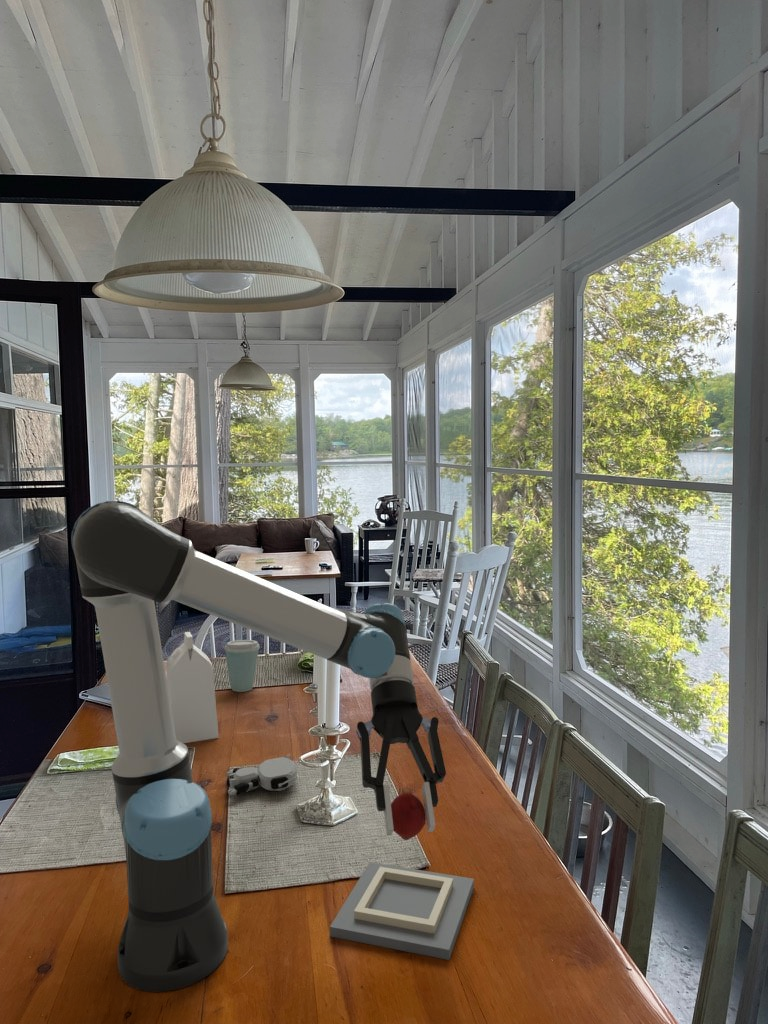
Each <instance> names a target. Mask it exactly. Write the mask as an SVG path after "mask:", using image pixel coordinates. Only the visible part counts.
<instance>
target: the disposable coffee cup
mask: <svg viewBox="0 0 768 1024" xmlns="http://www.w3.org/2000/svg"><path fill="white" fill-rule="evenodd" d="M260 648H261V647H260V644H259V643H258V641H257V640H253V639H237V640H231V641H228V642H227V643H226V644H225V646H224V649H223V650H224V652H225V659H226V665H227V671H228V678H229V683H230V688H231V690H232V691H233V692H237V693H245V692H249V691H251V690H253V687H254V684H255V676H256V669H257V663H258V655H259V650H260Z"/></svg>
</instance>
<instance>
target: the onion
mask: <svg viewBox="0 0 768 1024" xmlns="http://www.w3.org/2000/svg"><path fill="white" fill-rule="evenodd" d="M391 810H392V819H393V828H394V829H393V832H395V833H396V834H397V835H398V836H399V837H400V838H401V839H402V840H405V841H408V840H410V839H412V838H414V837H416V836H417V835H419V833H421V831H422V830H423V828H424V827H425V825H426V815H425V808H424V803H422V801H421V800H420V799H419V798H418V797H417V796H415V795H414V794H413V793H412V792H410V791H409V789H408V788H402V790H401V793H400V794H399V795H398V796H396V797H395V798H394V799H393V800H392V802H391Z"/></svg>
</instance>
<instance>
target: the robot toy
mask: <svg viewBox="0 0 768 1024" xmlns="http://www.w3.org/2000/svg"><path fill="white" fill-rule="evenodd" d="M289 757H291V754H287V755H286V756H281V757H280V756H279V757H275V758H270V759H265V760H264V761H263V762H261V763H260V765H258V768H256V767H255V766H253V767H252V766H251V767H250V766H249V767H244V768H243V767H235V768H233V769H228V771H227V772H226V776H227V777H228V778H227V779H226V786H227V787H228V788H229V789H228V791H227V793H228V794H229V795H230V796H234V795H237V796H239V795H242V794H244V793H248V791H249V792H250V791H253V790H256V789H257V788H258V787H259V786H260V787H261V788H263V789H265V790H266V791H267V790H268V791H270V792H272V791H276V792H282V790H283V791H285V790H286V789H288V788H290V787H291V786H292V785H293V784H295V782H296V780H297V778H298V773H297V772H298V771H297V765H296V763H295V762H294V761H293V760H291V759H290V758H289ZM246 791H247V792H246Z"/></svg>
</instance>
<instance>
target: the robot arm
mask: <svg viewBox="0 0 768 1024" xmlns="http://www.w3.org/2000/svg"><path fill="white" fill-rule="evenodd" d="M70 537H71V540H70V541H71V547H72V550H73V554H74V558H75V562H76V568H77V575H78V580H79V584H80V585H79V586H80V591H81V597H82V598H83V599H84V600H86V601H87V602H89V603H91V604H92V605H93V606H94V611H95V613H96V614H95V615H96V620H97V629H98V633H99V639H100V644H101V650H102V651H101V652H102V656H103V662H104V669H105V675H106V681H107V686H108V692H109V699H110V705H111V711H112V716H113V717H112V718H113V723H114V729H115V734H116V740H117V746H118V755H117V757H116V758H115V759H114V760H113V762H112V764H111V774H112V778H113V786H114V790H115V805H116V809H117V813H118V816H119V820H120V828H121V832H122V840H123V846H124V850H125V851H124V852H125V861H126V863H125V864H126V877H127V878H126V879H127V896H128V897H127V899H128V900H127V901H128V912H127V915H126V918H125V922H124V926H123V928H122V929H123V930H122V934H121V936H120V940H119V943H118V947H117V970H118V973H119V975H120V978H121V979H122V981H123V982H125V984H127V985H129V986H130V987H132V988H135V989H137V990H140V991H144V992H169V991H174V990H177V989H178V990H179V989H182V988H185V987H188V986H191V985H192V984H195V983H197V982H200V981H201V980H203V979H204V978H206V977H208V976H209V975H210V974H211V973H213V972H214V971H215V970H217V968H218V967H219V966H220V965H221V964H222V962H223V960H224V959H225V957H226V955H227V952H228V948H229V942H228V941H229V939H228V938H229V936H228V927H227V923H226V922H225V919H224V918H223V916H222V913H221V910H220V908H219V904H218V902H217V900H216V897H215V894H214V874H213V873H214V872H213V849H212V847H213V846H212V845H213V844H212V842H213V841H212V824H213V823H212V821H213V813H212V808H211V804H210V798H209V796H208V795H209V794H207V792H206V790H205V789H204V788H203V787H201V785H199V784H198V783H196V782H194V780H193V774H192V773H193V772H192V767H191V766H192V765H191V762H190V761H191V760H190V755H189V749H188V746H187V745H186V743H182V742H180V741H178V740H176V735H175V729H174V723H173V717H172V710H171V704H170V698H169V691H168V685H167V671H166V667H165V660H164V654H163V648H162V643H161V636H160V630H159V623H158V616H157V611H156V604H155V602H156V603H159V604H161V605H162V604H165V603H168V602H171V601H174V602H178V603H180V604H182V605H185V606H188V607H190V608H193V609H196V610H198V611H200V612H202V613H206V614H207V615H210V616H213V617H216V618H218V619H221V620H224V621H226V622H229V623H231V624H233V625H234V624H235V625H237V626H240V627H242V628H245V629H247V630H250V631H252V632H255V633H257V634H260V635H263V636H265V637H268V638H271V639H273V640H275V641H277V642H278V641H279V642H281V643H283V644H286V645H289V646H291V647H294V648H296V649H299V650H302V651H305V652H307V653H309V654H312V655H314V656H317V657H320V658H322V659H325V660H327V661H329V662H332V663H333V664H334V663H335V664H337V665H339V666H341V667H345V668H347V669H349V670H351V671H352V673H354V674H355V675H358V676H361V677H364V678H366V679H369V686H370V687H369V688H370V691H371V692H370V698H371V707H372V709H371V710H372V717H371V720H368V721H365V722H363V721H359V722H357V725H356V730H355V731H356V735H357V737H358V739H359V742H360V743H359V744H360V761H361V762H360V763H361V781H362V784H361V785H362V787H363V788H365V789H368V788H369V789H372V790H374V795H375V803H376V810H377V812H383V813H384V823H385V831H386V832H385V833H386V836H392V835H393V832H394V831H393V829H394V828H393V819H392V810H391V803H392V802H391V793H390V787H389V784H385V785H384V781H385V776H386V770H387V769H386V768H387V764H388V759H389V753H390V747H391V745H395V744H398V743H400V744H406V745H407V748H408V749H409V751H410V752H411V755H412V758H413V759H414V762H415V763H416V766H417V768H418V770H419V772H420V775H421V777H422V779H423V785H422V787H421V792H422V799H423V806H424V809H425V816H426V820H425V823H426V827H427V828H426V829H427V832H428V833H430V832H431V833H432V832H434V829H435V827H436V820H435V813H434V812H435V811H434V808H436V807H437V806H438V802H439V795H438V791H437V784H439V783H443V782H444V779H445V777H446V775H447V772H446V771H447V770H446V766H445V762H444V757H443V752H442V748H441V742H440V738H439V734H438V726H439V722H440V720H439V718H438V717H435V716H434V717H432V718H429V717H428V718H427V717H423V715H422V713H421V712H420V711H419V706H418V701H417V695H416V692H417V691H416V688H415V686H414V684H415V680H414V675H413V674H414V673H413V668H412V662H411V656H410V648H409V640H408V634H407V633H408V629H407V627H406V622H405V621H406V620H405V619H404V614H403V611H402V610H401V608H399V606H397V605H395V604H393V603H390V602H384V603H382V604H381V603H375V604H372V605H370V606H368V607H367V608H365V610H364V611H363V612H362V613H361V612H355V611H353V610H346V609H341V608H336V607H330V606H328V605H326V604H323V603H321V602H318V601H316V600H313V599H311V598H309V597H306V596H304V595H302V594H299V593H297V592H295V591H292V590H289V589H287V588H285V587H282V586H281V585H278V584H276V583H274V582H271V581H269V580H267V579H264V578H262V577H259V576H257V575H255V574H252V573H250V572H248V571H245V570H243V569H241V568H239V567H236V566H233V565H231V564H229V563H226V562H224V561H222V560H219V559H217V558H214V557H212V556H210V555H208V554H205V553H203V552H202V551H201V552H200V551H198V550H196V549H195V548H194V544H193V543H192V540H191V539H188V538H186V537H184V536H181V535H179V534H178V533H175V532H173V531H171V530H169V529H168V528H166V527H164V525H163V526H162V525H161V524H159V523H158V521H155V520H154V519H153V518H151V517H150V516H149V515H148V514H146V512H144V511H142V510H141V508H139V507H138V506H136V505H134V504H131V503H129V502H126V501H123V500H122V501H121V500H109V501H108V500H106V501H103V502H98V503H96V504H94V505H92V506H90V507H88V508H87V509H86V510H84V511H83V512H82V513H81V514H79V517H78V518H77V520H76V521H75V522H74V526H73V528H72V531H71V536H70ZM421 726H422V727H423V730H424V732H425V733H426V734H427V741H428V745H429V752H430V755H431V761H432V765H433V769H432V767H431V765H430V762H429V760H428V758H427V755H426V753H425V751H424V749H423V747H422V745H421V742H420V740H419V735H418V734H417V732H418V730H419V729H420V728H421ZM372 729H373V730H374V731H375V732H376V733H377V734H378V736H380V737H381V739H382V743H381V748H380V754H379V759H378V765H377V768H376V769H377V771H376V775H375V776H376V777H374V776H372V766H371V765H372V763H371V761H372V760H371V748H370V736H371V734H372ZM433 771H434V772H433Z"/></svg>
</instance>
